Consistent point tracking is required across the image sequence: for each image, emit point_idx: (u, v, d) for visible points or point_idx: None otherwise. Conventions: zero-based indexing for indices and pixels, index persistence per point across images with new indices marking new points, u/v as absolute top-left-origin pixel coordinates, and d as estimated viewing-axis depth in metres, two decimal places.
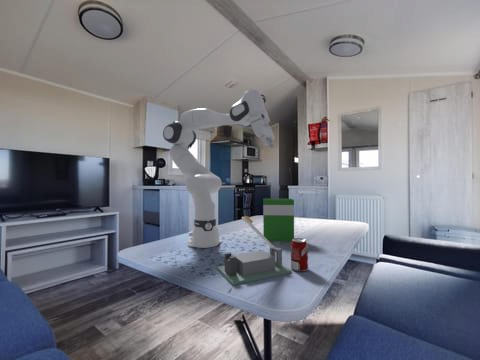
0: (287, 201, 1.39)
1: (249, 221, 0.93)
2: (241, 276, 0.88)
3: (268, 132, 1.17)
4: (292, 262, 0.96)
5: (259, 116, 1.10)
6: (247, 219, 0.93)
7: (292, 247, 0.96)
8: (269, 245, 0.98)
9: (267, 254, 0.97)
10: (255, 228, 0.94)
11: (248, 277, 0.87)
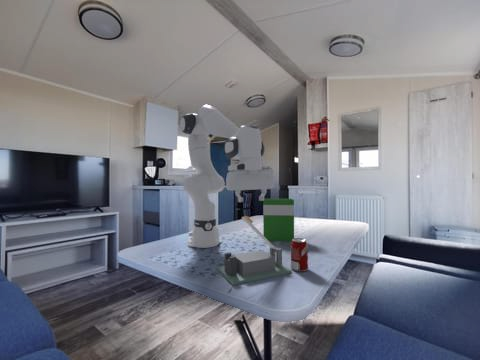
0: (287, 201, 1.39)
1: (249, 221, 0.93)
2: (241, 276, 0.88)
3: (253, 183, 0.93)
4: (292, 262, 0.96)
5: (233, 168, 0.89)
6: (247, 219, 0.93)
7: (292, 247, 0.96)
8: (269, 245, 0.98)
9: (267, 254, 0.97)
10: (255, 228, 0.94)
11: (248, 277, 0.87)
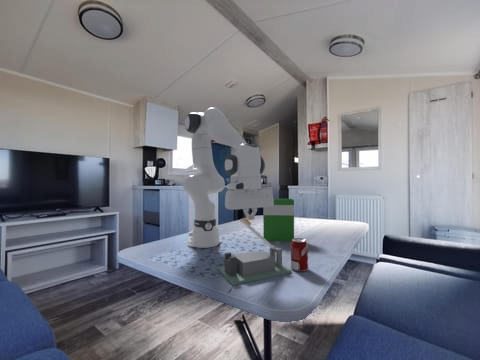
0: (287, 201, 1.39)
1: (247, 223, 0.93)
2: (241, 276, 0.88)
3: (253, 202, 0.93)
4: (292, 262, 0.96)
5: (232, 187, 0.89)
6: (245, 221, 0.92)
7: (292, 247, 0.96)
8: (269, 245, 0.98)
9: (267, 254, 0.97)
10: (254, 230, 0.94)
11: (248, 277, 0.87)
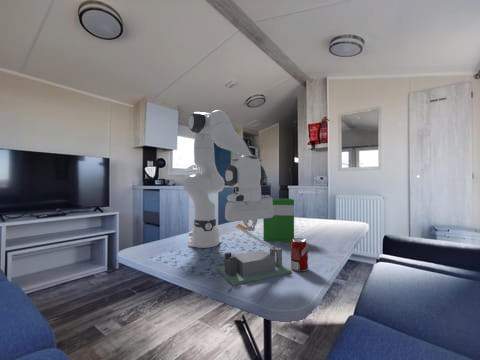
0: (287, 201, 1.39)
1: (243, 229, 0.92)
2: (241, 276, 0.88)
3: (253, 214, 0.93)
4: (292, 262, 0.96)
5: (232, 199, 0.89)
6: (241, 227, 0.91)
7: (292, 247, 0.96)
8: None
9: (267, 254, 0.97)
10: (251, 234, 0.93)
11: (248, 277, 0.87)
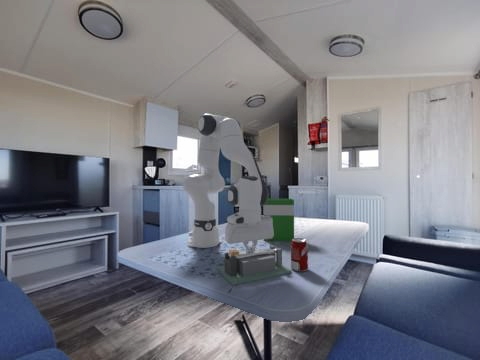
0: (287, 201, 1.39)
1: (236, 254, 0.91)
2: (241, 276, 0.88)
3: (253, 235, 0.93)
4: (292, 262, 0.96)
5: (232, 222, 0.89)
6: (233, 254, 0.90)
7: (292, 247, 0.96)
8: None
9: (267, 254, 0.97)
10: (245, 254, 0.92)
11: (248, 277, 0.87)
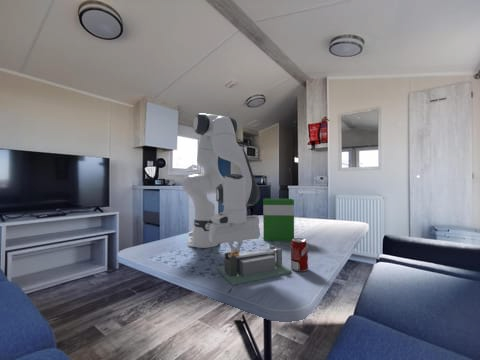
0: (287, 201, 1.39)
1: (236, 256, 0.91)
2: (241, 276, 0.88)
3: (238, 235, 0.90)
4: (292, 262, 0.96)
5: (216, 221, 0.86)
6: None
7: (292, 247, 0.96)
8: None
9: (267, 254, 0.97)
10: (245, 255, 0.92)
11: (248, 277, 0.87)
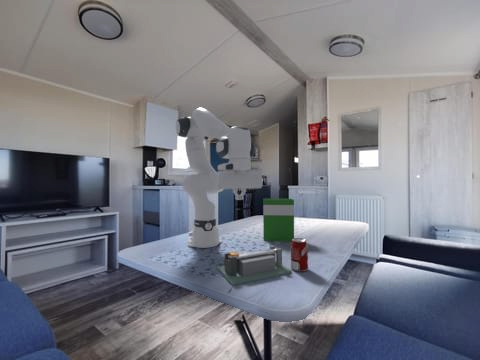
0: (287, 201, 1.39)
1: (236, 257, 0.91)
2: (241, 276, 0.88)
3: (242, 183, 0.97)
4: (292, 262, 0.96)
5: (222, 167, 0.93)
6: None
7: (292, 247, 0.96)
8: None
9: (267, 254, 0.97)
10: (245, 256, 0.92)
11: (248, 277, 0.87)
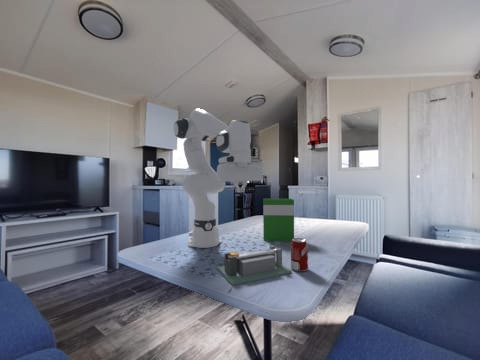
0: (287, 201, 1.39)
1: (236, 257, 0.91)
2: (241, 276, 0.88)
3: (243, 175, 0.98)
4: (292, 262, 0.96)
5: (223, 160, 0.94)
6: None
7: (292, 247, 0.96)
8: None
9: (267, 254, 0.97)
10: (245, 256, 0.92)
11: (248, 277, 0.87)
